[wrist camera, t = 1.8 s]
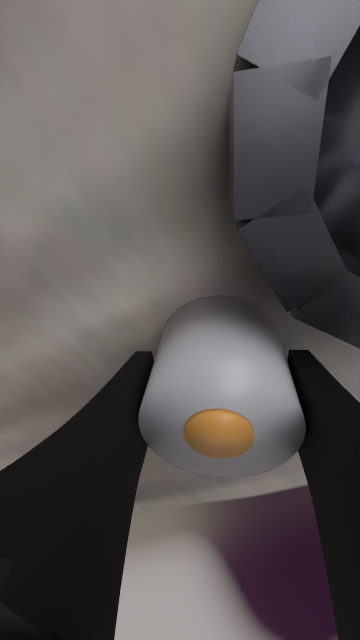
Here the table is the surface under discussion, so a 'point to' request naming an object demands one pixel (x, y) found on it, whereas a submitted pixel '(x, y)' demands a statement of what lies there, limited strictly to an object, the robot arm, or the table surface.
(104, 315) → the table surface
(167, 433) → the boiled egg half
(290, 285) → the dark grey round ring
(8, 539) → the robot arm
